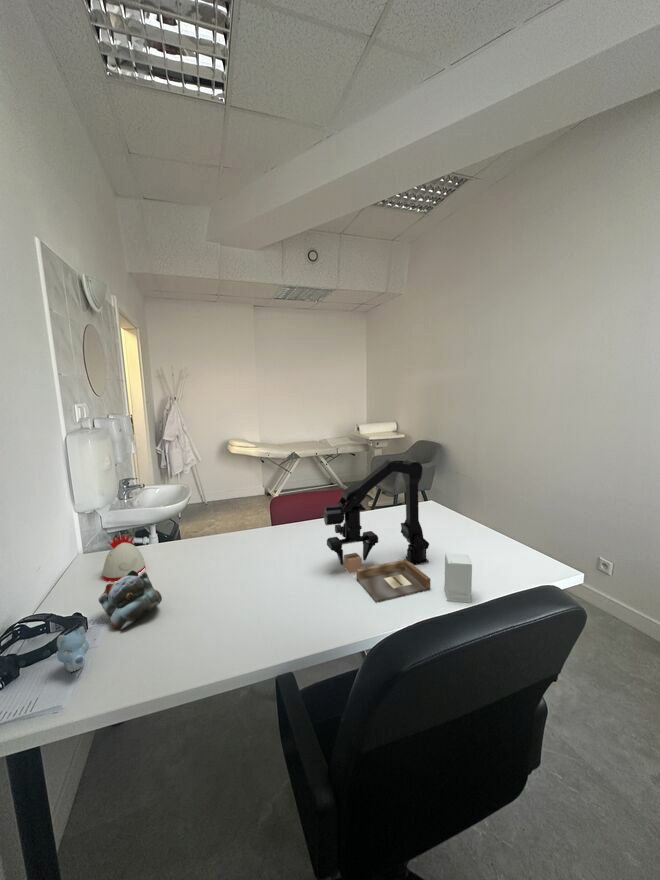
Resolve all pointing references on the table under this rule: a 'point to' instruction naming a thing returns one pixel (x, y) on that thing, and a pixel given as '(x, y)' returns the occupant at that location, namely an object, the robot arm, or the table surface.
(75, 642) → the wolf head
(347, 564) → the terracotta block
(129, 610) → the lucky cat figurine
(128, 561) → the kitchen timer
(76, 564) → the table surface
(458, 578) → the supplement box
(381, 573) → the arena
